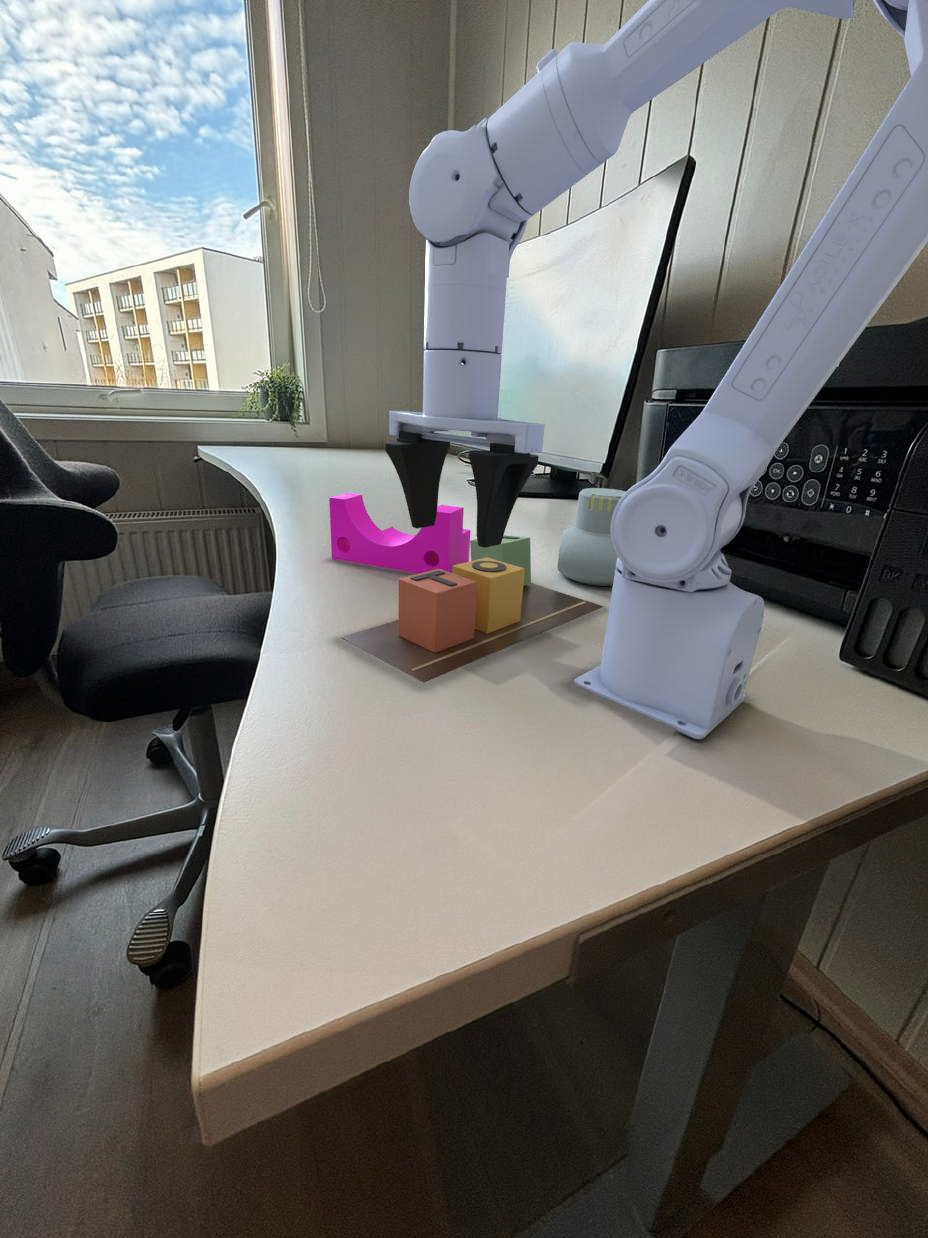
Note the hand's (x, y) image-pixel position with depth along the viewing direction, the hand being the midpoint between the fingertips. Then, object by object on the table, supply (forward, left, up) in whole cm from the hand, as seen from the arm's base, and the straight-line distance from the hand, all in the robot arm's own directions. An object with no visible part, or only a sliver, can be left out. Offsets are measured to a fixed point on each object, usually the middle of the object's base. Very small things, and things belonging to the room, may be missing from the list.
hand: (454, 535), depth 46 cm
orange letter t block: (-1, +3, -8) cm, 9 cm away
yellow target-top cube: (-1, -3, -8) cm, 9 cm away
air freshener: (0, -23, -9) cm, 25 cm away
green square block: (+5, -12, -8) cm, 15 cm away
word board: (-1, -3, -8) cm, 9 cm away
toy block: (+18, -9, -9) cm, 22 cm away
